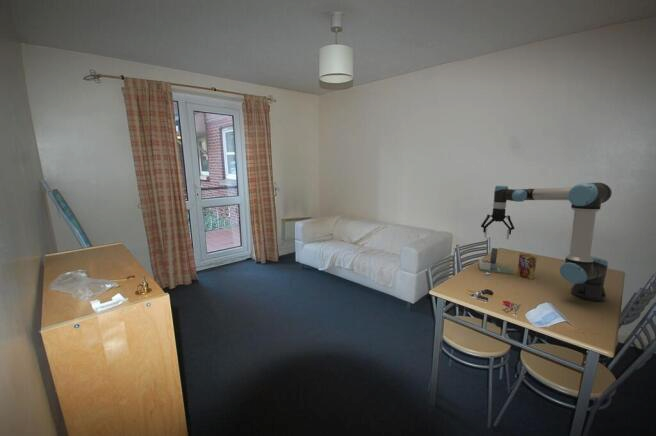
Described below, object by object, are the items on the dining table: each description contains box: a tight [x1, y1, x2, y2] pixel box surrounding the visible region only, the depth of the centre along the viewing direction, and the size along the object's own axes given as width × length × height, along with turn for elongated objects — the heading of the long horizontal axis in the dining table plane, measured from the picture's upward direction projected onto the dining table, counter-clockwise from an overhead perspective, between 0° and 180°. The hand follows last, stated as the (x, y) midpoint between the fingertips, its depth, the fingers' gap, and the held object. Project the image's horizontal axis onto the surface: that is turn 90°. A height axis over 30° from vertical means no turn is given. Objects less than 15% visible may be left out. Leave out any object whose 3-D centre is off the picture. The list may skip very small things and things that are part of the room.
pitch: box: [477, 258, 514, 276], centre depth 207 cm, size 13×20×6 cm, turn 69°
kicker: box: [488, 247, 499, 269], centre depth 206 cm, size 6×5×14 cm
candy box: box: [516, 252, 538, 280], centre depth 193 cm, size 9×4×15 cm, turn 39°
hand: (496, 238), depth 203 cm, fingers open, 13 cm apart
